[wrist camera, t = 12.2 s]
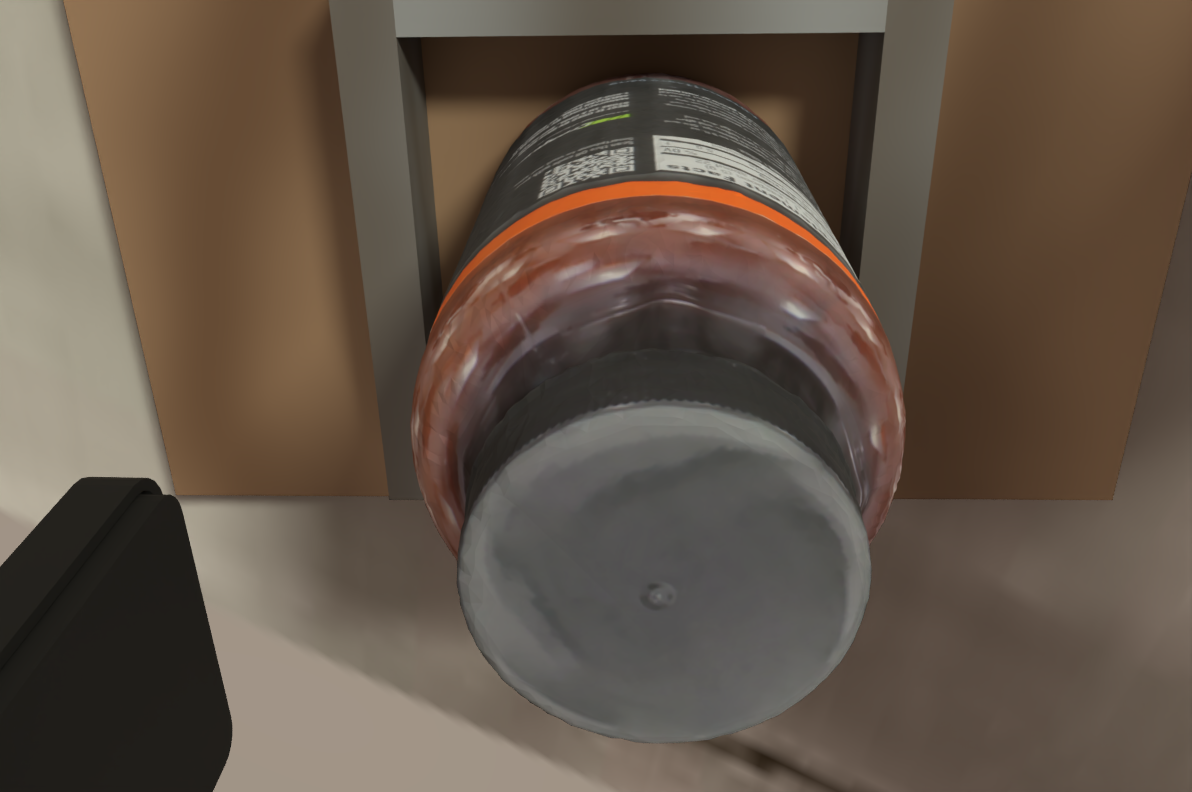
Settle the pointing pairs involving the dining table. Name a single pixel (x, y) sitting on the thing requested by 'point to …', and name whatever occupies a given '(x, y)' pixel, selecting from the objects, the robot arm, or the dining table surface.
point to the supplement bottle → (657, 418)
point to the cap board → (591, 54)
